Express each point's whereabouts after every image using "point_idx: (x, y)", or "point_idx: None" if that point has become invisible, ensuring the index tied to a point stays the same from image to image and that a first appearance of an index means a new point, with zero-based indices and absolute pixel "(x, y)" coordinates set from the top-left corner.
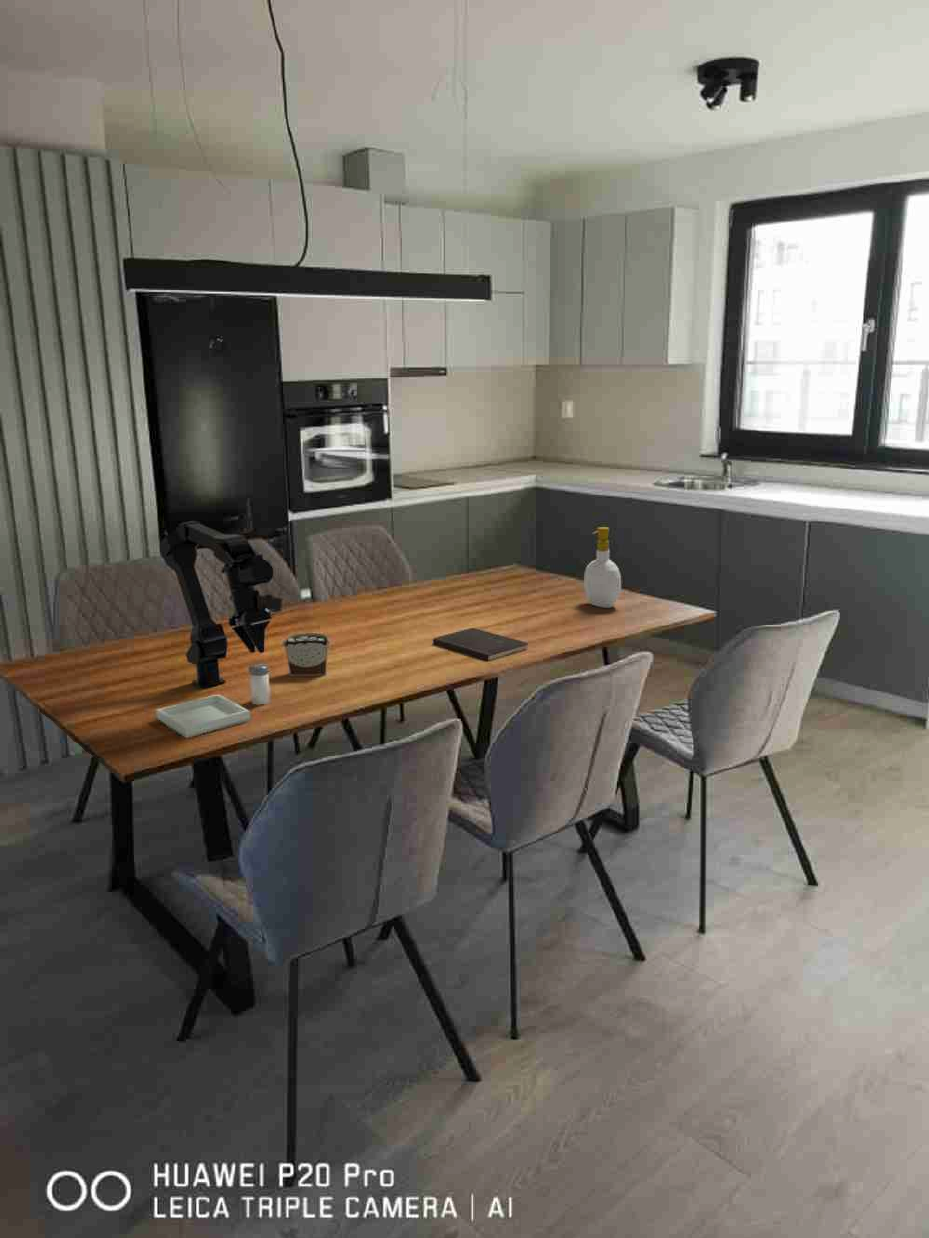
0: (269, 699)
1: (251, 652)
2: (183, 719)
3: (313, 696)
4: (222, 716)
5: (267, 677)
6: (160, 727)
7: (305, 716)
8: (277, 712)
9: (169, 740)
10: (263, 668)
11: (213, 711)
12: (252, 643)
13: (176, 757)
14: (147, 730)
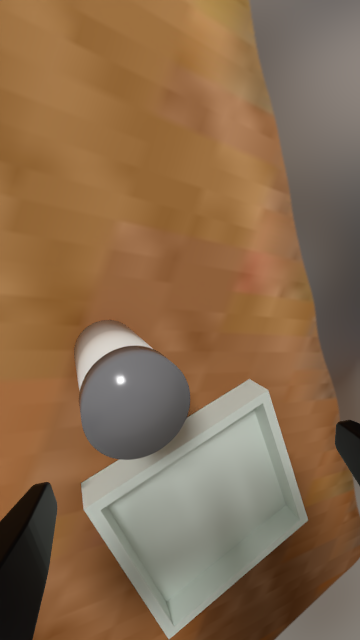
0: (124, 325)
1: (55, 505)
2: (201, 543)
3: (110, 157)
4: (215, 452)
5: (150, 347)
6: None
7: (272, 233)
8: (217, 306)
9: None
10: (181, 379)
11: (169, 484)
12: (19, 567)
13: (353, 493)
14: None
